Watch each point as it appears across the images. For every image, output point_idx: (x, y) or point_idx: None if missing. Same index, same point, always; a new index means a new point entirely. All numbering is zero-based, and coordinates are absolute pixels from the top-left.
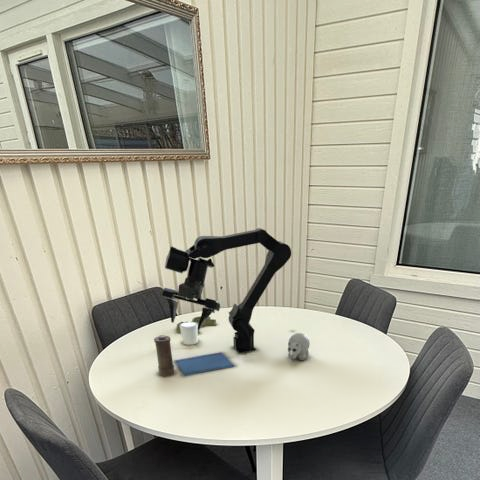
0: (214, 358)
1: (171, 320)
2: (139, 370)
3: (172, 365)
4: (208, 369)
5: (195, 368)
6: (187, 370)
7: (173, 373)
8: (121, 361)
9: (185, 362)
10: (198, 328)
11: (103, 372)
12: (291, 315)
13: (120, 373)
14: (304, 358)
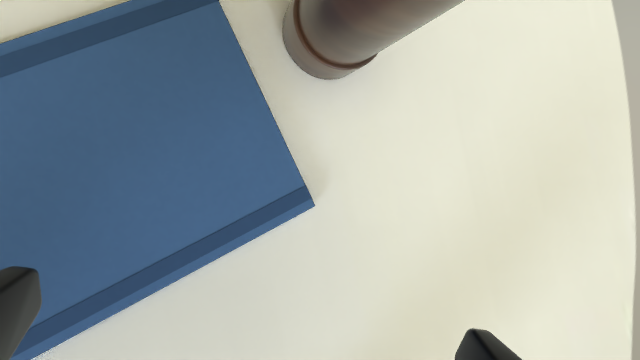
0: (27, 257)
1: (501, 342)
2: (470, 83)
3: (299, 2)
4: (40, 48)
5: (150, 76)
6: (202, 46)
7: (285, 13)
8: (565, 196)
9: (242, 177)
10: (12, 268)
11: (603, 71)
12: None
13: (540, 53)
14: None
